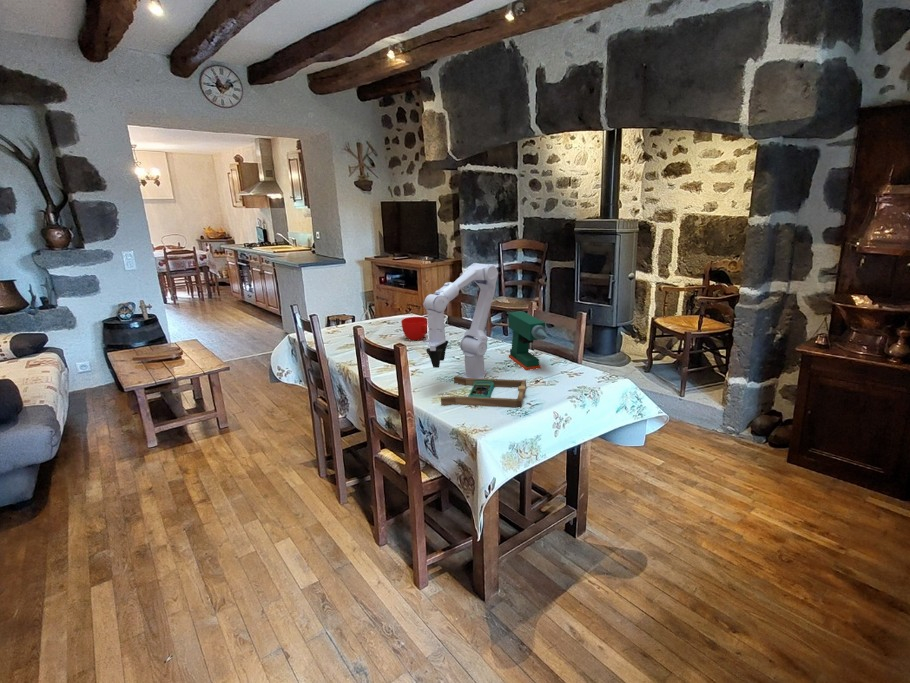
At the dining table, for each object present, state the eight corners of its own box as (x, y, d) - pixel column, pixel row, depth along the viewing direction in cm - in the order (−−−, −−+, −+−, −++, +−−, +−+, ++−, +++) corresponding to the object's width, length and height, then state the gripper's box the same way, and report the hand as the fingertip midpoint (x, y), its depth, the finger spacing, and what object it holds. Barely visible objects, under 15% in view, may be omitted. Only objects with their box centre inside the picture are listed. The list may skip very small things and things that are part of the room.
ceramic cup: (418, 345, 237) (417, 325, 234) (397, 339, 249) (396, 320, 246) (438, 339, 245) (437, 320, 242) (417, 334, 257) (416, 315, 254)
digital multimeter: (467, 403, 170) (467, 395, 169) (474, 387, 184) (474, 379, 183) (488, 404, 169) (488, 396, 168) (494, 388, 183) (494, 380, 182)
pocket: (454, 382, 189) (454, 373, 188) (527, 385, 182) (527, 376, 182) (440, 405, 168) (439, 396, 167) (522, 409, 162) (522, 400, 161)
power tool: (557, 379, 187) (558, 328, 181) (540, 381, 185) (541, 330, 179) (523, 355, 216) (523, 310, 211) (508, 357, 214) (507, 312, 209)
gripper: (430, 322, 184) (432, 357, 188) (420, 333, 170) (422, 370, 174) (449, 322, 182) (451, 357, 186) (440, 333, 169) (442, 370, 172)
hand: (438, 363), depth 180 cm, fingers open, 7 cm apart
